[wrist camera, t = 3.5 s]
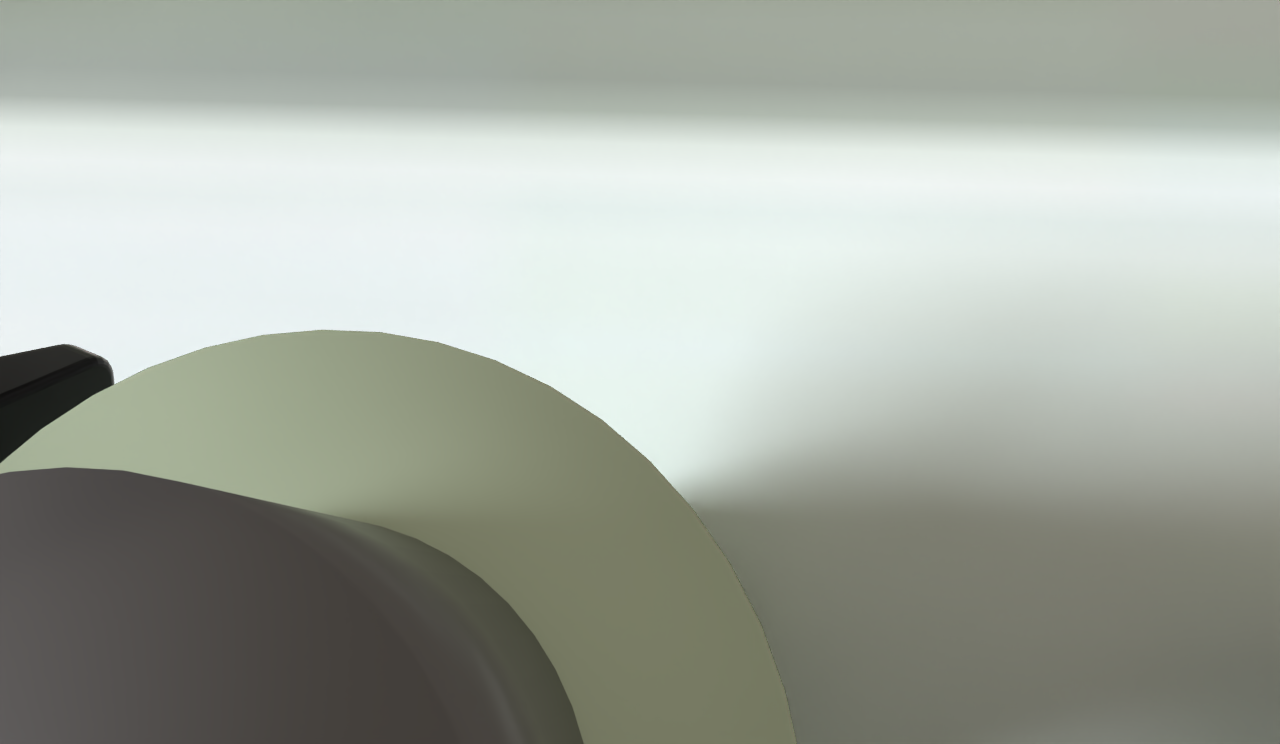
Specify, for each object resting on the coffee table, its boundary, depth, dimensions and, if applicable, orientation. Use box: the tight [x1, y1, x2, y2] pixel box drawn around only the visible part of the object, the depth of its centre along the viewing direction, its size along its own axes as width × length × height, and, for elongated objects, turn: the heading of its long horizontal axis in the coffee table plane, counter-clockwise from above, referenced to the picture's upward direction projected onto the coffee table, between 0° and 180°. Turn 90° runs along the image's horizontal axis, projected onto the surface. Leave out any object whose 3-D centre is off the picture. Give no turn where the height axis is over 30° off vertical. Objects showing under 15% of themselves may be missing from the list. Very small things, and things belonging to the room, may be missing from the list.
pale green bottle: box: [0, 330, 797, 744], centre depth 9 cm, size 5×5×12 cm
